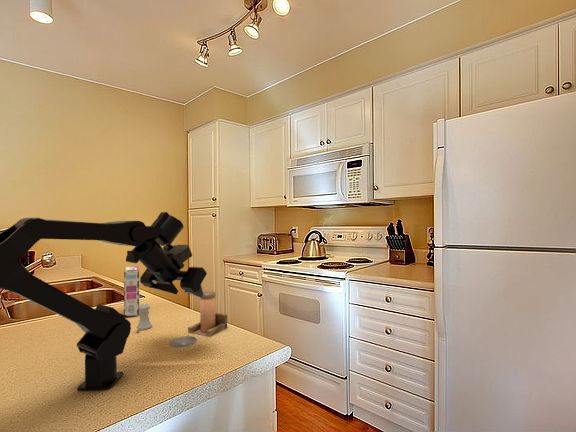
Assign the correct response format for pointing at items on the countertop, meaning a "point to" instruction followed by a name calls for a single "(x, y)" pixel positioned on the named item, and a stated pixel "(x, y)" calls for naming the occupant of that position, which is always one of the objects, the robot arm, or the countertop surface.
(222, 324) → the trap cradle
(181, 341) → the slate coaster
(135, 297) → the candy bar box
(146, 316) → the rook chess piece
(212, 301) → the spice jar
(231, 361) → the countertop surface
